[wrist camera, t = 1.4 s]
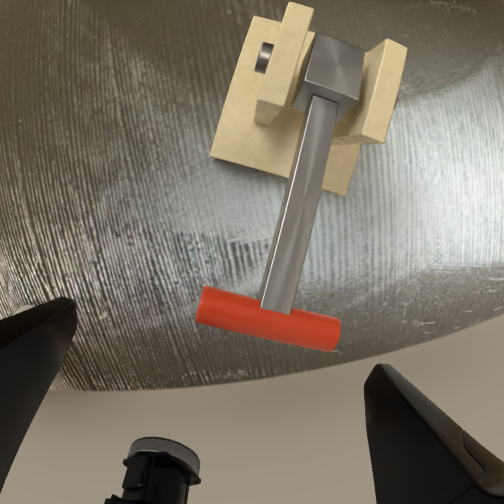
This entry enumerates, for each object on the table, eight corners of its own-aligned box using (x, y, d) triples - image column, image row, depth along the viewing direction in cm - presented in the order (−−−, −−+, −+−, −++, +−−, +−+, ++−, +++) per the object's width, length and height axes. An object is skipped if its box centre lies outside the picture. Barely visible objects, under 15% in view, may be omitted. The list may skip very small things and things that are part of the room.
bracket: (340, 194, 21) (405, 228, 12) (211, 156, 20) (181, 160, 11) (377, 64, 18) (454, 21, 9) (253, 21, 18) (257, -58, 8)
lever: (318, 344, 13) (340, 360, 10) (197, 315, 12) (192, 328, 10) (372, 87, 13) (395, 63, 11) (273, 52, 13) (283, 20, 10)
